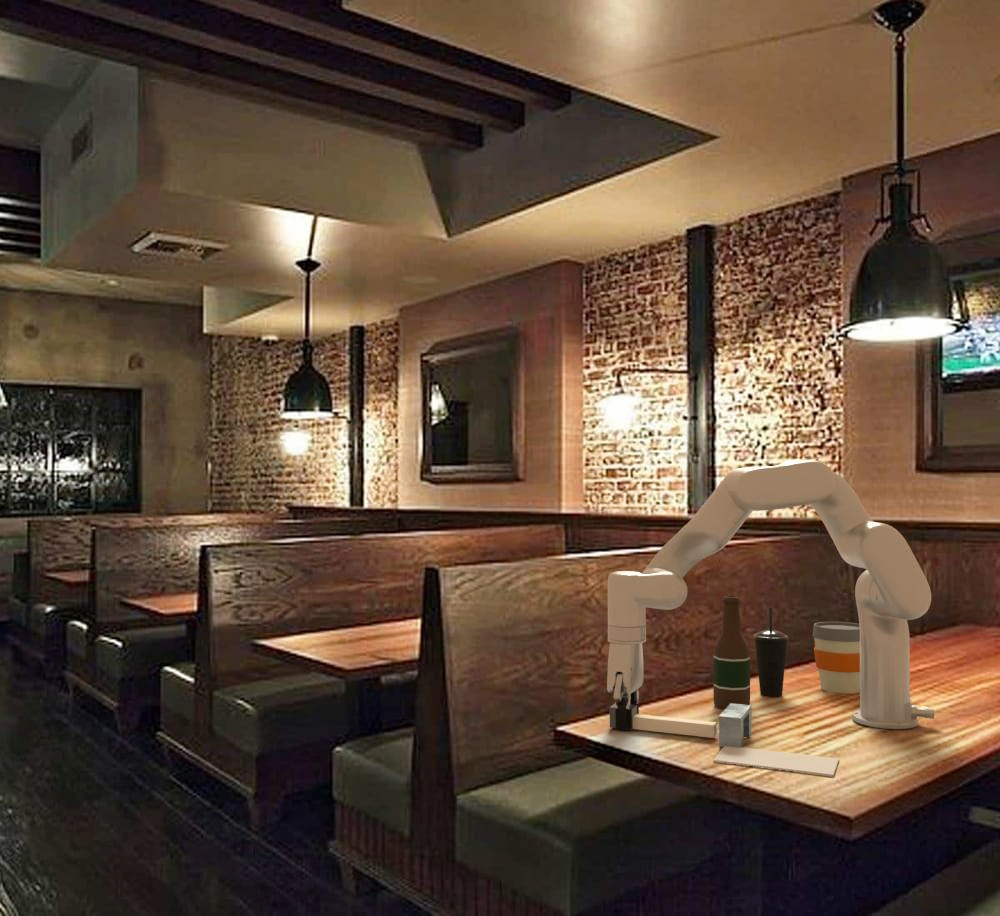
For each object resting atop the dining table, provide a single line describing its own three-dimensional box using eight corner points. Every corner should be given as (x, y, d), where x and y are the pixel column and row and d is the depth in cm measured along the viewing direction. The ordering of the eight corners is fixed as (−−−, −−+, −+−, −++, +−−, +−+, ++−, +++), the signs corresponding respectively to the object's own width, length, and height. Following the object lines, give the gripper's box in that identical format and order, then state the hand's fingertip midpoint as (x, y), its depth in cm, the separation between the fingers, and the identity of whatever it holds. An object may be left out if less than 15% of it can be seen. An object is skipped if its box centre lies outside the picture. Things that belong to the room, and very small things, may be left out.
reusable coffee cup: (852, 698, 217) (851, 631, 217) (802, 688, 227) (802, 625, 227) (879, 689, 226) (878, 625, 226) (830, 681, 235) (830, 619, 235)
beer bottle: (751, 712, 204) (750, 599, 205) (713, 710, 206) (713, 598, 206) (749, 703, 212) (748, 594, 212) (713, 701, 214) (712, 593, 214)
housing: (751, 735, 186) (751, 705, 186) (740, 750, 176) (740, 718, 176) (730, 732, 188) (730, 703, 188) (719, 747, 178) (718, 716, 178)
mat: (838, 760, 169) (838, 758, 169) (833, 777, 160) (833, 774, 160) (725, 747, 178) (725, 745, 178) (713, 762, 169) (713, 759, 169)
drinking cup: (749, 691, 224) (748, 605, 224) (781, 691, 224) (780, 605, 225) (760, 699, 216) (760, 610, 216) (793, 698, 217) (793, 609, 217)
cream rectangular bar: (717, 733, 185) (717, 712, 186) (713, 738, 182) (712, 717, 182) (615, 722, 194) (615, 702, 194) (609, 727, 190) (609, 707, 190)
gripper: (621, 626, 200) (621, 714, 200) (595, 639, 185) (595, 734, 185) (656, 628, 197) (657, 718, 197) (632, 641, 182) (633, 738, 182)
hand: (627, 725), depth 191 cm, fingers closed on cream rectangular bar, 4 cm apart
